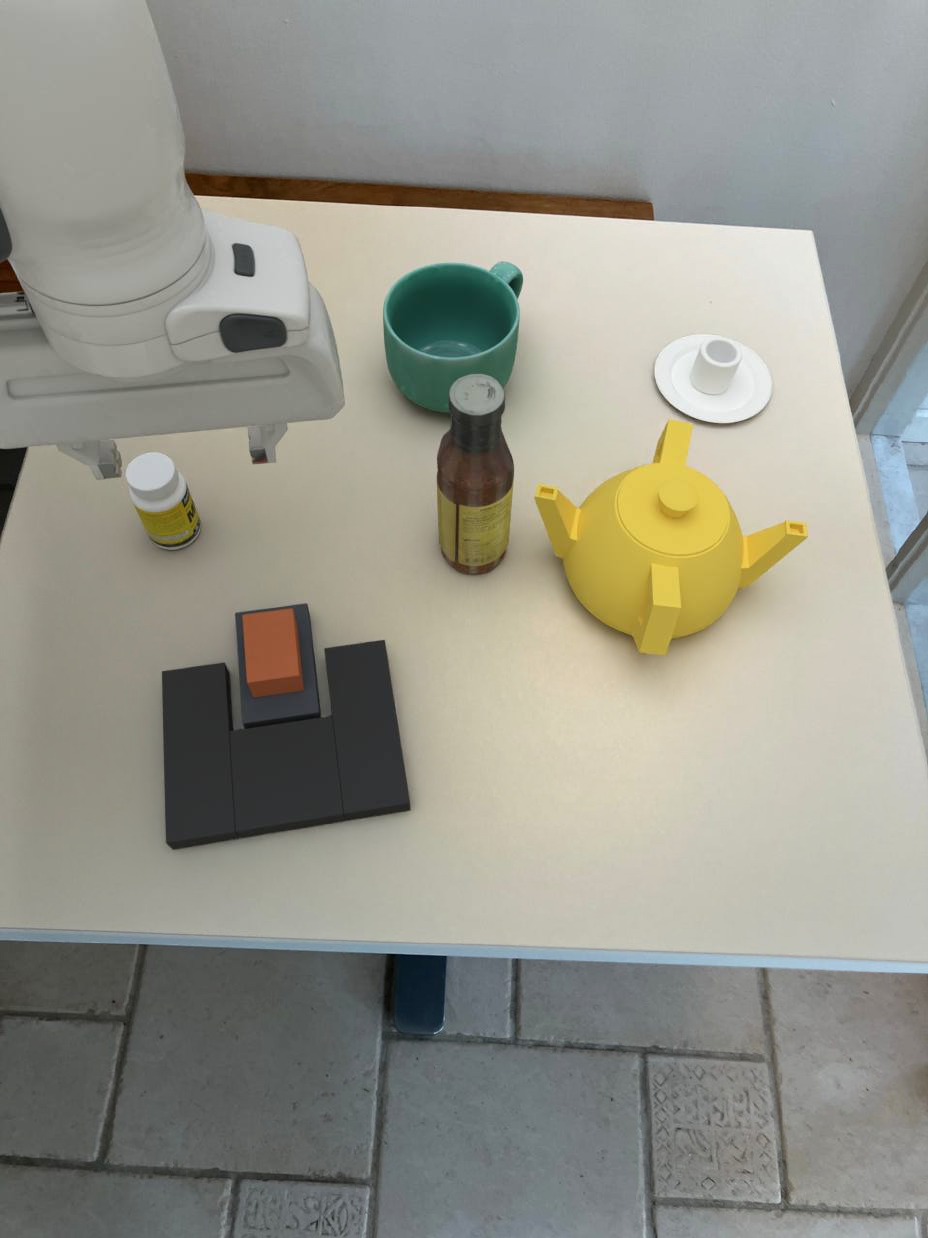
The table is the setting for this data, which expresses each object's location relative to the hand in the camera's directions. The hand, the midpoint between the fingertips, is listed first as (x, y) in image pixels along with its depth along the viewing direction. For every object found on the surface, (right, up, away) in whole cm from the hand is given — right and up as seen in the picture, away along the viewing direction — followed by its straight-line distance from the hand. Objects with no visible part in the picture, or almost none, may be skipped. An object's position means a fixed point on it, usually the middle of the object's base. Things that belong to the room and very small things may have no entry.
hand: (187, 462), depth 55 cm
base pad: (+3, -20, +15) cm, 25 cm away
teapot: (+34, -6, +24) cm, 42 cm away
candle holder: (+43, +14, +35) cm, 57 cm away
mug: (+17, +15, +35) cm, 42 cm away
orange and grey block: (+2, -14, +18) cm, 23 cm away
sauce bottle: (+18, -3, +25) cm, 31 cm away
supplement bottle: (-9, -2, +24) cm, 26 cm away
